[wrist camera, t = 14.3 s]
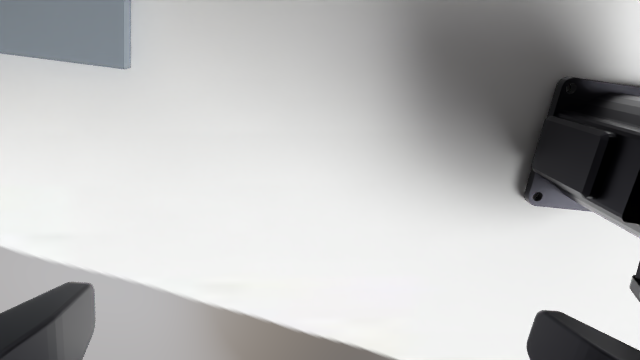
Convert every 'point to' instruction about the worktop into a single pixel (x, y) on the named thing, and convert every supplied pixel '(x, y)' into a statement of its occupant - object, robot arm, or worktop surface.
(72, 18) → the letter board
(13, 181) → the worktop surface
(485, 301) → the worktop surface
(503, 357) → the worktop surface
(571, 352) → the robot arm
